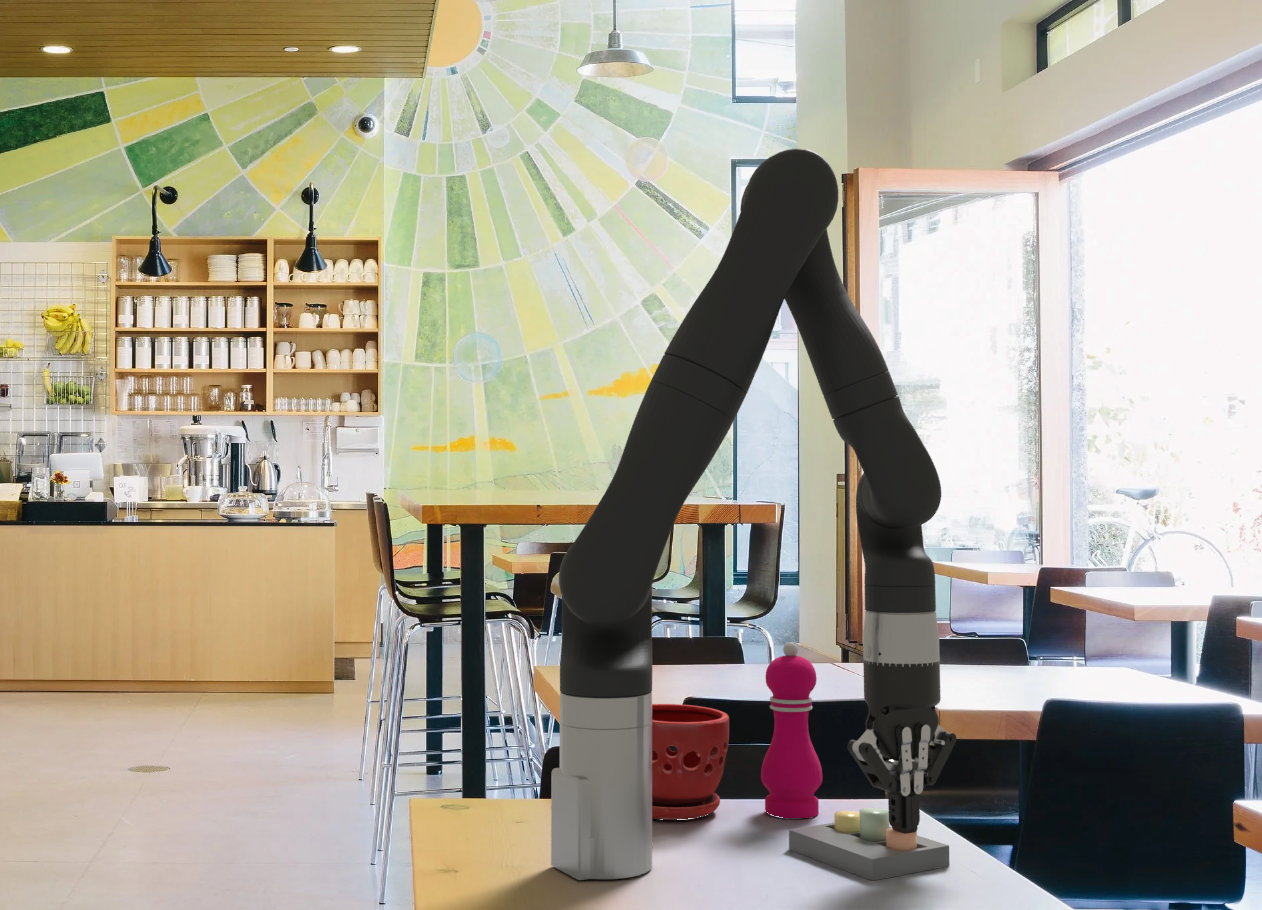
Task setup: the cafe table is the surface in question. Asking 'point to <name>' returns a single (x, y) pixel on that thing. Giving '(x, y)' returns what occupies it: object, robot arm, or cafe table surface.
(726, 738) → the plant pot
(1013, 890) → the cafe table surface
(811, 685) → the pepper mill
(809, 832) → the panel
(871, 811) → the sage button
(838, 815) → the ochre button
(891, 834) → the terracotta button
